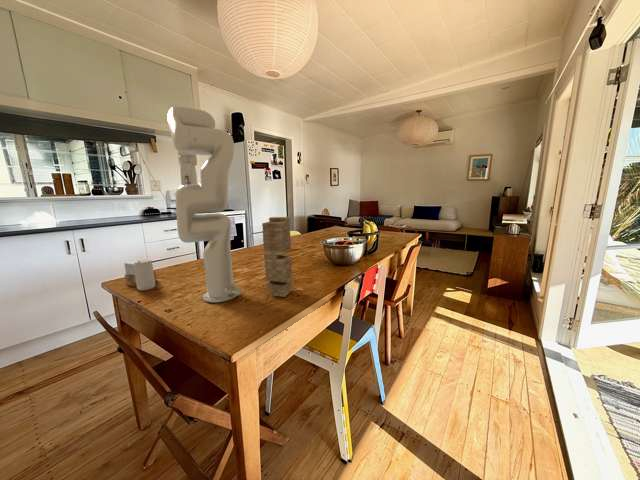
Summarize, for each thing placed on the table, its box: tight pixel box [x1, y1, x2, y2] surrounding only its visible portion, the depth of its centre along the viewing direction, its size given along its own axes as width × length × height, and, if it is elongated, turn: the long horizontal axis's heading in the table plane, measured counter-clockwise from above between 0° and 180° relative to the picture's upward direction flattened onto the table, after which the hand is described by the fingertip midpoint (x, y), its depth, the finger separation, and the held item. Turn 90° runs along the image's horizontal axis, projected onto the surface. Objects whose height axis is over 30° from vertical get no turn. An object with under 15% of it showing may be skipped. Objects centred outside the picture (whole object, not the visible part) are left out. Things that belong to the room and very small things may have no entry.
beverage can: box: [134, 258, 156, 292], centre depth 105 cm, size 6×6×12 cm
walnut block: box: [124, 269, 157, 287], centre depth 113 cm, size 8×8×5 cm
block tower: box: [261, 216, 294, 298], centre depth 96 cm, size 8×8×29 cm
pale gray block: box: [124, 258, 153, 275], centre depth 112 cm, size 7×7×5 cm
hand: (192, 199), depth 120 cm, fingers open, 9 cm apart
